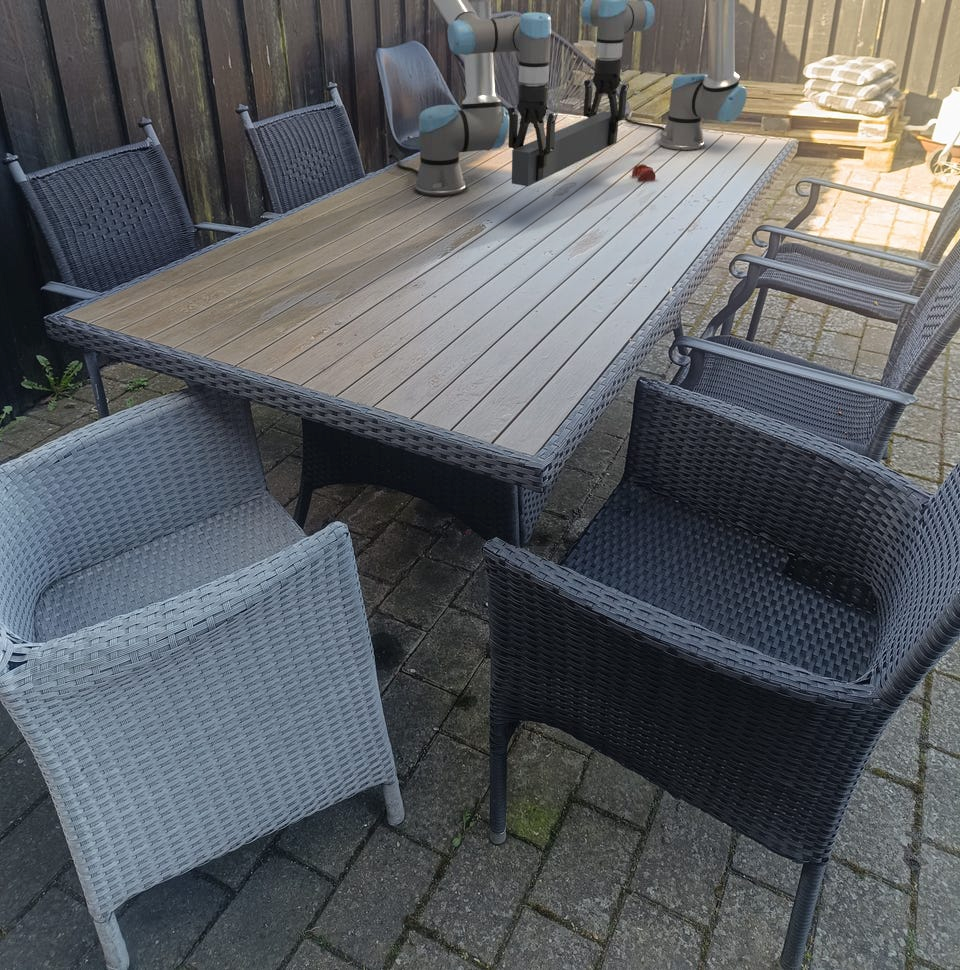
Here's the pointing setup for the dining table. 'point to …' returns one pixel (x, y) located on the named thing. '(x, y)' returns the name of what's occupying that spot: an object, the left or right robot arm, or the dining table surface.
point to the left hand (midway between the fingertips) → (529, 177)
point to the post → (563, 148)
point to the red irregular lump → (643, 172)
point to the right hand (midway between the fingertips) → (601, 143)
